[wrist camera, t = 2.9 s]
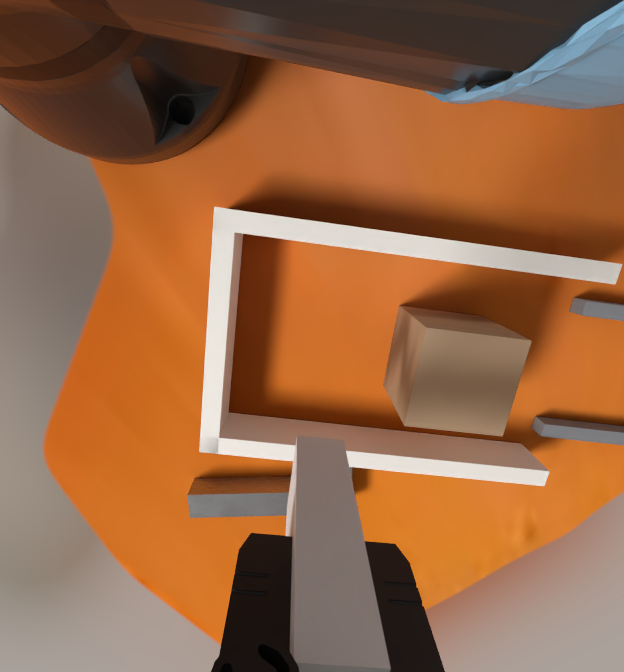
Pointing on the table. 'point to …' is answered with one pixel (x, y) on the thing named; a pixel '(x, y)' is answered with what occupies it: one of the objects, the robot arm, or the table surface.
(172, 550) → the table surface
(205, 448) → the cubby
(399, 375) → the walnut cube
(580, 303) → the grey bracket
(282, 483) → the crook tool
